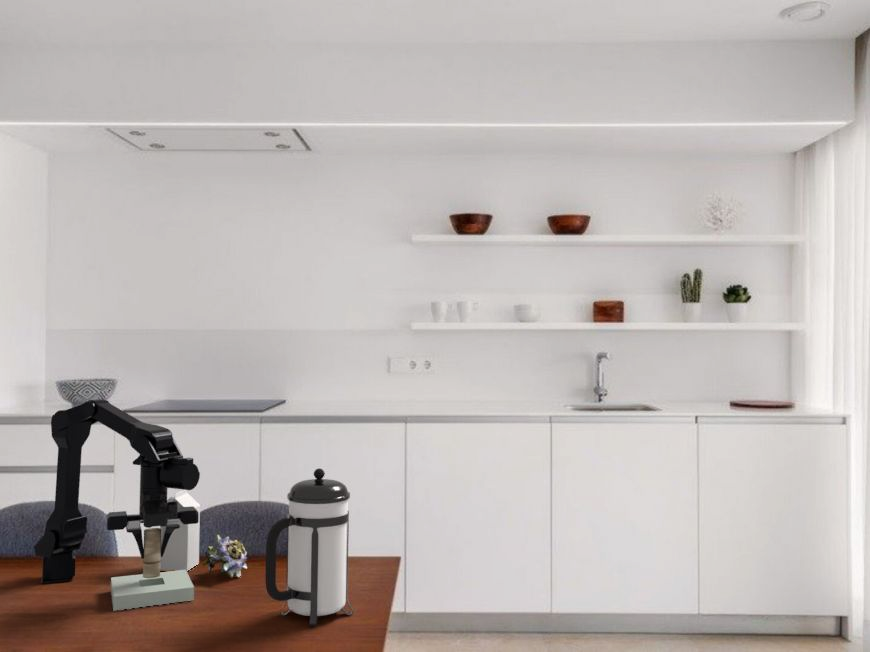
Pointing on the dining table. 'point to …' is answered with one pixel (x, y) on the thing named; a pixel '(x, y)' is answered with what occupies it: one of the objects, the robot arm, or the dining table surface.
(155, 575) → the peg
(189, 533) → the milk carton
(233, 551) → the passion flower
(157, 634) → the dining table surface
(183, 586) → the board
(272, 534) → the coffee press
